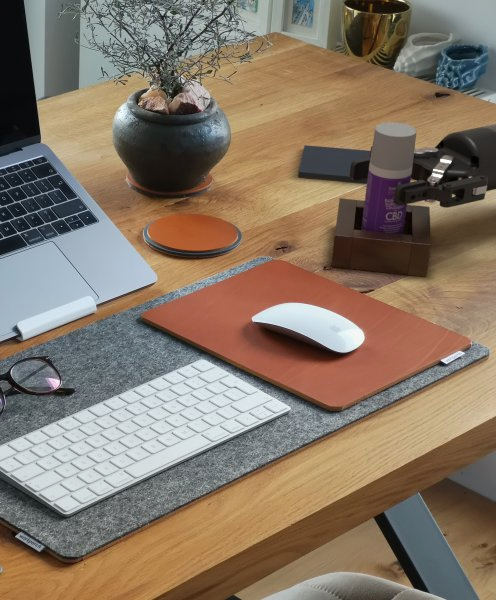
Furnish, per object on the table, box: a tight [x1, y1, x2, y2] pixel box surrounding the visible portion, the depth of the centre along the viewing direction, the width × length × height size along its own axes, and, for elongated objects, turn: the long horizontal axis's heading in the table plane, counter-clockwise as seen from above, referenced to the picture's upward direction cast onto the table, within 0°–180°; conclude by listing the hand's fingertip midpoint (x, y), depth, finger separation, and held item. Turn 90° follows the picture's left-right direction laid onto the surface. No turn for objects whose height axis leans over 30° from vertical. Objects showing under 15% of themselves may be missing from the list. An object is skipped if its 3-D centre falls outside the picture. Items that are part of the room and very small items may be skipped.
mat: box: [297, 144, 371, 184], centre depth 151 cm, size 10×10×1 cm
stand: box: [330, 197, 432, 278], centre depth 128 cm, size 10×10×4 cm
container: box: [361, 121, 417, 234], centre depth 126 cm, size 5×5×15 cm
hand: (374, 183), depth 124 cm, fingers open, 7 cm apart
